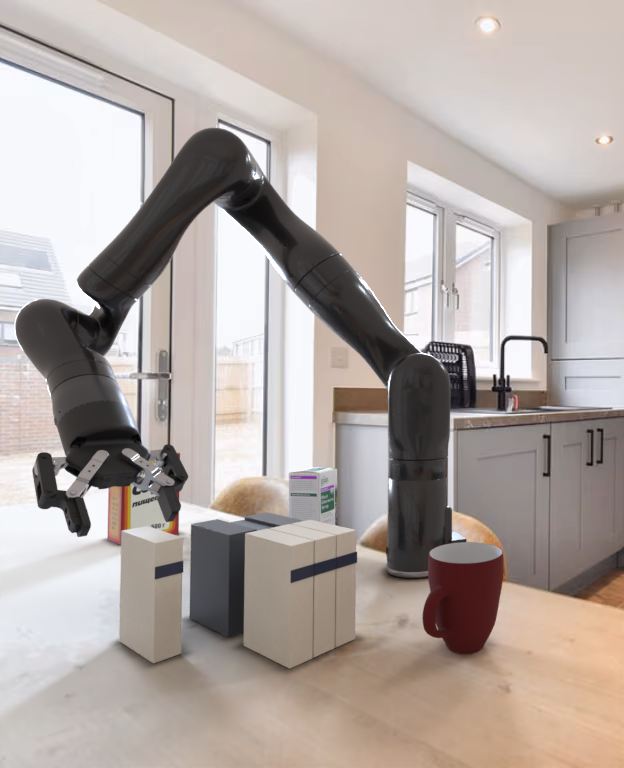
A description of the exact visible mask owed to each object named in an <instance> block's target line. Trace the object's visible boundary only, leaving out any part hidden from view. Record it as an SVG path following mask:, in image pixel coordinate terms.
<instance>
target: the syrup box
mask: <svg viewBox="0 0 624 768" xmlns="http://www.w3.org/2000/svg"><path fill="white" fill-rule="evenodd" d="M338 513H339V511H338V468H337V467H330V466H313V467H312V466H311V467H306V468H304V469H297V470H294V471H290V472H288V517H290V518H294V519H299V520H303V521H306V520H314V521H318V522H323V523H327V524H332V525H336V526H339V525H338V524H339V523H338V520H339V519H338V517H339V516H338V515H339V514H338Z"/></svg>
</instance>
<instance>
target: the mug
mask: <svg viewBox="0 0 624 768" xmlns="http://www.w3.org/2000/svg"><path fill="white" fill-rule="evenodd" d="M427 578H428V586H429V594H428V596H427V597H426V599H425V602H424V605H423V608H422V609H423V610H422V626H423V629H424V631H425V633H426V634H427V635H428V636H430V637H432V638H435V639H442V640H443V642H444V644H445V646H446V648H447V649H448V650H449V651H450V652H452V653H455V654H459V655H469V654H475V653H477V652H480V651H481V650H482V649H483V648H484V647H485V645H486V643H487V642H488V639H489V638H490V636H491V633H492V631H493V629H494V627H495V625H496V621H497V616H498V612H499V605H500V600H501V594H502V588H503V580H504V551H503V549H502V548H501V547H499V546H497V545H495V544H491V543H485V542H476V541H475V542H474V541H466V542H460V543H451V544H445V545H441V546H438V547H436V548H434V549H432V550H431V551H430V552H429V560H428V577H427Z"/></svg>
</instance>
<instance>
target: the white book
mask: <svg viewBox="0 0 624 768" xmlns="http://www.w3.org/2000/svg"><path fill="white" fill-rule="evenodd" d="M183 556H184V537H182V536H179V535H173V534H170V533H167V532H164V531H161V530H158V529H155V528H152V527H149V526H146V527H140V528H134V529H128V530H123V531H121V545H120V579H119V581H120V583H119V595H120V596H119V629H118V630H119V633H118V636H119V637H118V638H119V639H118V641H119V642H120V643H121V644H123V645H124V646H126V647H127V648H129V649H131V650H132V651H133V652H135V654H138V655H140V656H141V657H142V658H144V659H146V660H147V661H149V662H150V663H152V664H157V663H159V662H162V661H164V660H168V659H170V658H173V657H177V656H178V655H181V654H182V625H183V624H182V619H183V617H182V614H183V573H184V557H183Z"/></svg>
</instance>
